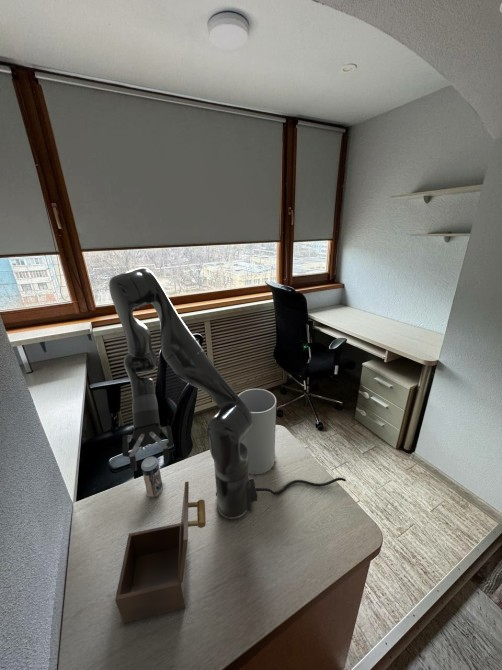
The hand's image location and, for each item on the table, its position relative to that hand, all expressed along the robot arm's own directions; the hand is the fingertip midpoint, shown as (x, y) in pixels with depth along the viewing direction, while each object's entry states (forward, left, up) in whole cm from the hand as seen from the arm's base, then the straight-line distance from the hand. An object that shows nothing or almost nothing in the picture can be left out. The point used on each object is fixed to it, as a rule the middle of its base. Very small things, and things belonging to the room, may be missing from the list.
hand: (150, 466), depth 79 cm
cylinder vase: (-33, -5, -10) cm, 35 cm away
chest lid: (-10, +24, +6) cm, 27 cm away
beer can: (0, 0, -10) cm, 10 cm away
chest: (-4, +24, -10) cm, 26 cm away
